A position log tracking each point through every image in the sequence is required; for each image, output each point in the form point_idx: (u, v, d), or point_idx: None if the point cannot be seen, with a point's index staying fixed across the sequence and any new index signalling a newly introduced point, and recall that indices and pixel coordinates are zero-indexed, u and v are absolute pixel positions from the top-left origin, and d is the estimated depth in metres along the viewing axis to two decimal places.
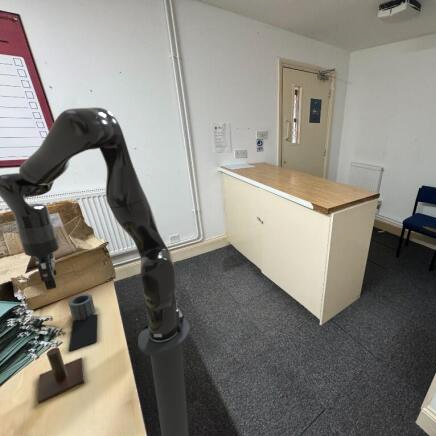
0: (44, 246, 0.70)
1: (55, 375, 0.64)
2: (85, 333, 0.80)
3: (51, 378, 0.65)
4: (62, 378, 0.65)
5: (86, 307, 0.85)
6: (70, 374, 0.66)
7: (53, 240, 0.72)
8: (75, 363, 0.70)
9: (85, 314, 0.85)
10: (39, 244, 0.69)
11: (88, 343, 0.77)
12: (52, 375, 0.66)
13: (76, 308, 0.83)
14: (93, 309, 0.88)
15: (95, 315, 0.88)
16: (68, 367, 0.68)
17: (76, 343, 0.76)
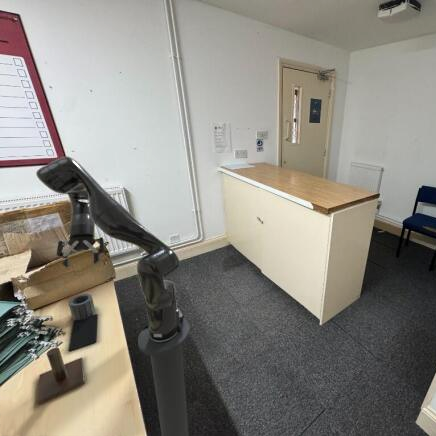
0: (70, 230, 0.93)
1: (55, 375, 0.64)
2: (85, 333, 0.80)
3: (51, 378, 0.65)
4: (62, 378, 0.65)
5: (86, 307, 0.85)
6: (70, 374, 0.66)
7: (73, 226, 0.93)
8: (75, 363, 0.70)
9: (85, 314, 0.85)
10: None
11: (88, 343, 0.77)
12: (52, 375, 0.66)
13: (76, 308, 0.83)
14: (93, 309, 0.88)
15: (95, 315, 0.88)
16: (68, 367, 0.68)
17: (76, 343, 0.76)
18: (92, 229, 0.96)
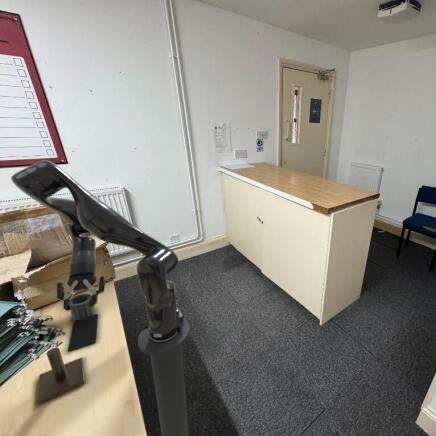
0: None
1: (55, 375, 0.64)
2: (85, 333, 0.80)
3: (51, 378, 0.65)
4: (62, 378, 0.65)
5: (86, 307, 0.85)
6: (70, 374, 0.66)
7: (72, 264, 0.87)
8: (75, 363, 0.70)
9: (85, 314, 0.85)
10: None
11: (87, 343, 0.77)
12: (52, 375, 0.66)
13: (76, 308, 0.83)
14: (93, 309, 0.88)
15: (96, 315, 0.88)
16: (68, 367, 0.68)
17: (75, 343, 0.76)
18: (93, 266, 0.91)
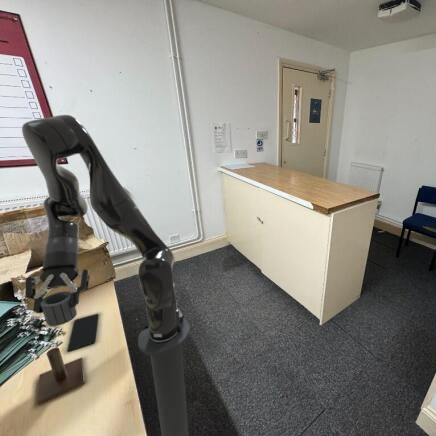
0: None
1: (55, 375, 0.64)
2: (85, 333, 0.80)
3: (51, 378, 0.65)
4: (62, 378, 0.65)
5: (63, 308, 0.66)
6: (70, 374, 0.66)
7: (47, 254, 0.68)
8: (75, 363, 0.70)
9: (62, 317, 0.67)
10: None
11: (86, 344, 0.77)
12: (52, 375, 0.66)
13: (50, 310, 0.64)
14: (73, 311, 0.70)
15: (96, 315, 0.88)
16: (68, 367, 0.68)
17: (75, 343, 0.76)
18: (74, 257, 0.72)
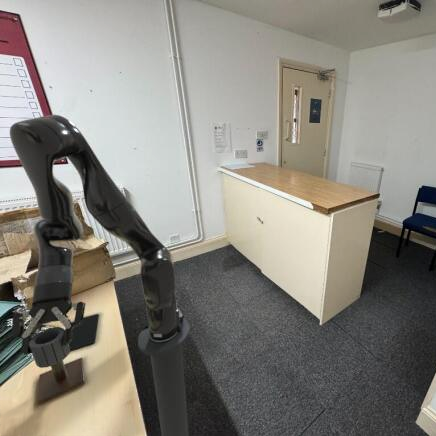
0: None
1: (55, 375, 0.64)
2: (85, 333, 0.80)
3: (51, 378, 0.65)
4: (62, 378, 0.65)
5: (55, 348, 0.60)
6: (70, 374, 0.66)
7: (37, 286, 0.62)
8: (75, 363, 0.70)
9: (54, 358, 0.60)
10: None
11: (86, 344, 0.76)
12: (52, 375, 0.66)
13: (40, 351, 0.58)
14: (66, 349, 0.63)
15: (96, 315, 0.88)
16: (68, 367, 0.68)
17: (75, 343, 0.76)
18: (67, 288, 0.65)
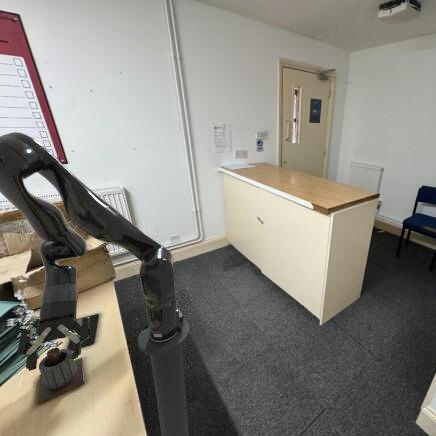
0: (40, 311, 0.65)
1: None
2: None
3: None
4: None
5: (63, 370, 0.63)
6: None
7: (44, 305, 0.64)
8: (75, 363, 0.70)
9: (62, 379, 0.63)
10: None
11: (86, 344, 0.76)
12: None
13: (49, 373, 0.61)
14: (74, 370, 0.66)
15: (97, 315, 0.88)
16: None
17: None
18: (73, 306, 0.67)
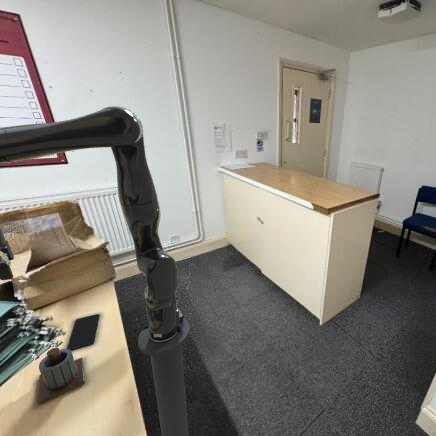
0: None
1: None
2: (84, 333, 0.80)
3: None
4: None
5: (63, 370, 0.63)
6: None
7: None
8: (75, 363, 0.70)
9: (62, 379, 0.63)
10: None
11: (85, 344, 0.76)
12: None
13: (49, 373, 0.61)
14: (74, 370, 0.66)
15: (97, 315, 0.88)
16: None
17: (74, 343, 0.76)
18: None
